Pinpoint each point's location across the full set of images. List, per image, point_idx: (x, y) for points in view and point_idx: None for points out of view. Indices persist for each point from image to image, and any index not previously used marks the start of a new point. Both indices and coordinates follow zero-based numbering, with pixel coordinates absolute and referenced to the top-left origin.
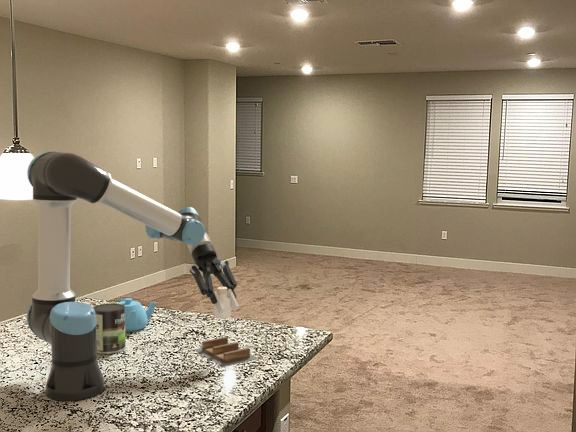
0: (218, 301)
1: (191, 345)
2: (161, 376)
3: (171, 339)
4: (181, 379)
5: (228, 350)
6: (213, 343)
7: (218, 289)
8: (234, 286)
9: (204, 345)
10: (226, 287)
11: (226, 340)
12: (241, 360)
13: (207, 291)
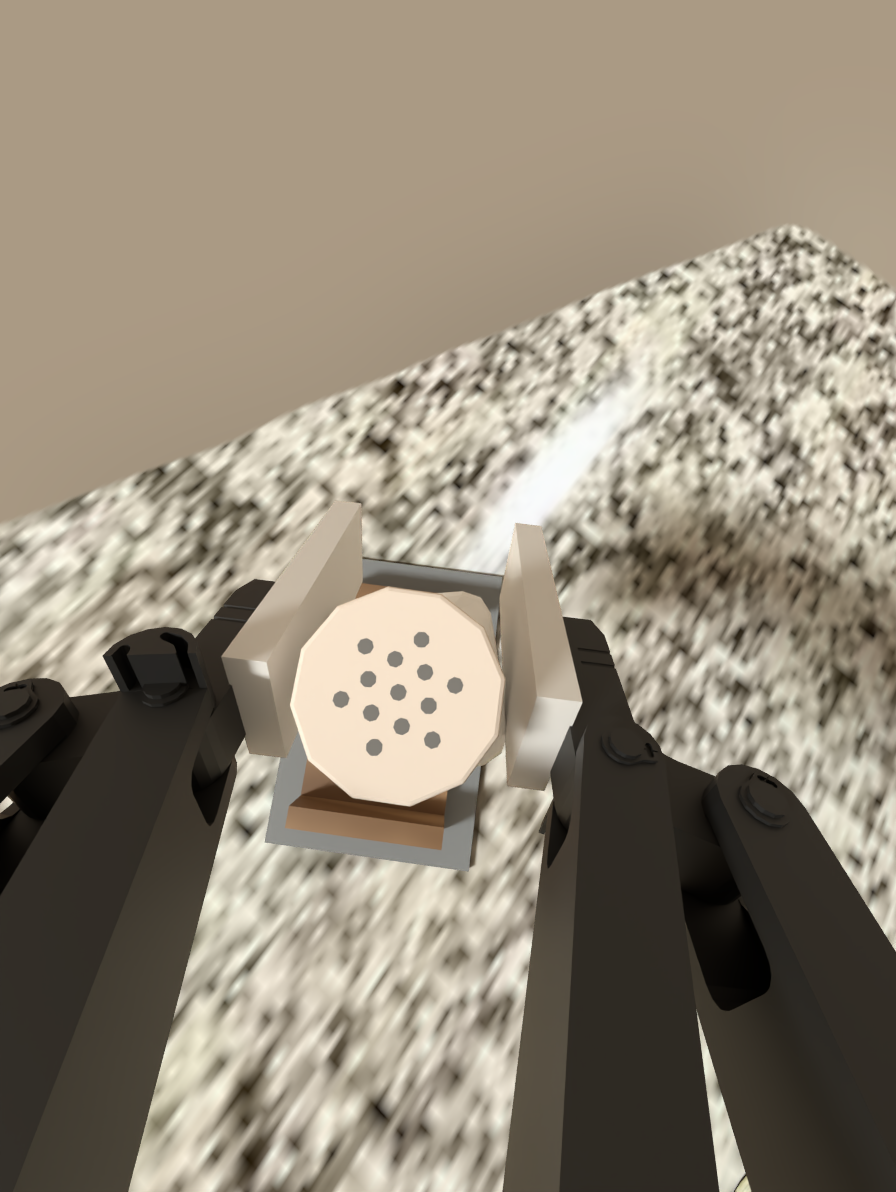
0: (554, 586)
1: (424, 956)
2: (758, 680)
3: (447, 1144)
4: (706, 596)
5: None
6: (385, 812)
7: (501, 686)
8: (75, 703)
9: (441, 820)
10: (319, 651)
11: (302, 802)
12: (393, 585)
13: (695, 783)
